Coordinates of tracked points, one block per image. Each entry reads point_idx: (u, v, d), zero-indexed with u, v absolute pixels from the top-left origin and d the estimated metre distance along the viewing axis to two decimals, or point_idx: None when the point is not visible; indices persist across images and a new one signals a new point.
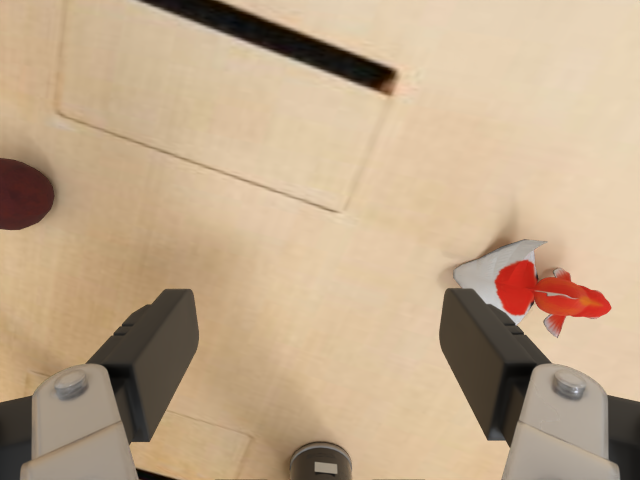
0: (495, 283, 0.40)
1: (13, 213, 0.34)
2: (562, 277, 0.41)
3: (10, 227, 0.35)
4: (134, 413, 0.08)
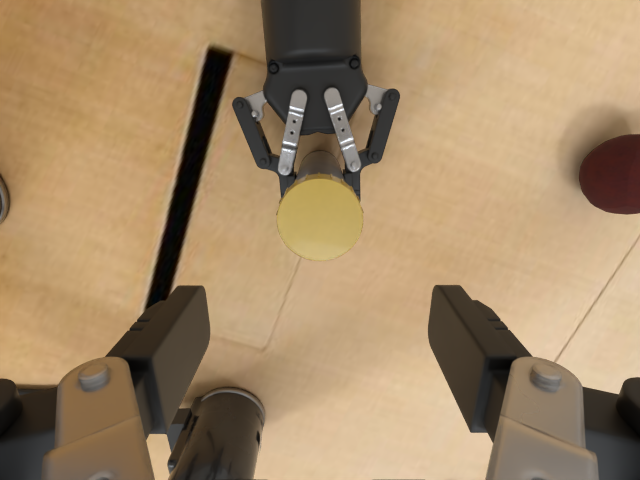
0: None
1: (628, 205, 0.32)
2: None
3: (608, 189, 0.33)
4: (152, 405, 0.08)
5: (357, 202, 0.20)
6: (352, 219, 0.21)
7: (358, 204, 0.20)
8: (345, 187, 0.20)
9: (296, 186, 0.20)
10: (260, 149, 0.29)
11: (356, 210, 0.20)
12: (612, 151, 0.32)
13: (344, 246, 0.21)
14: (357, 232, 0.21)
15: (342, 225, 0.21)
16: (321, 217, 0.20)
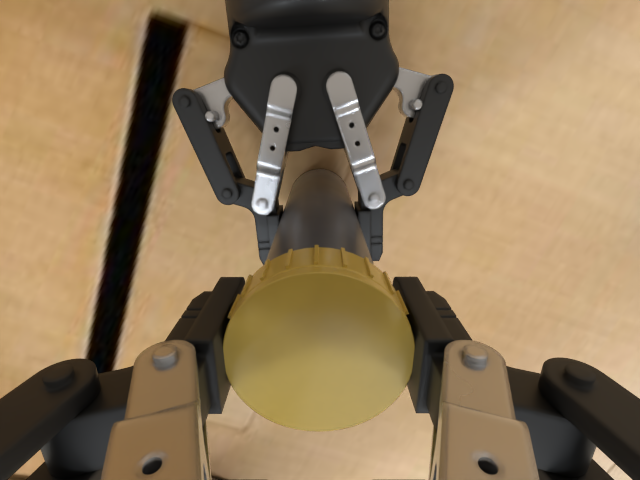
0: None
1: None
2: None
3: None
4: (210, 386, 0.09)
5: (404, 321, 0.09)
6: (392, 355, 0.09)
7: (406, 325, 0.09)
8: (378, 290, 0.09)
9: (263, 288, 0.09)
10: (222, 174, 0.18)
11: (401, 337, 0.09)
12: None
13: (372, 405, 0.10)
14: (401, 380, 0.09)
15: (369, 367, 0.09)
16: (322, 351, 0.09)
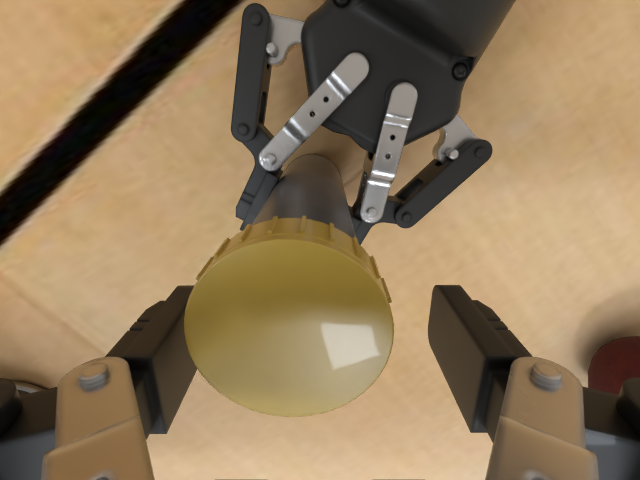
0: None
1: None
2: None
3: None
4: (153, 405, 0.08)
5: (295, 243, 0.08)
6: (328, 274, 0.08)
7: (301, 244, 0.08)
8: (245, 247, 0.08)
9: (187, 335, 0.09)
10: (249, 108, 0.17)
11: (313, 255, 0.08)
12: None
13: (377, 324, 0.08)
14: (365, 283, 0.08)
15: (327, 302, 0.08)
16: (281, 330, 0.08)
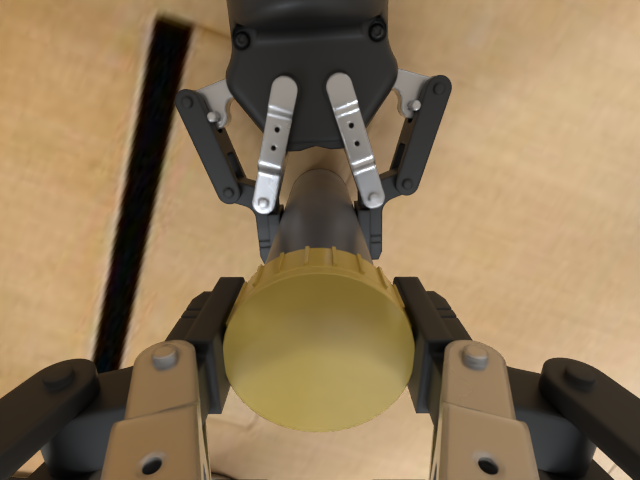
0: None
1: None
2: None
3: None
4: (210, 386, 0.09)
5: (274, 284, 0.08)
6: (315, 294, 0.09)
7: (279, 282, 0.08)
8: (239, 308, 0.09)
9: (241, 396, 0.10)
10: (223, 173, 0.18)
11: (294, 286, 0.08)
12: None
13: (384, 313, 0.09)
14: (350, 285, 0.08)
15: (330, 317, 0.09)
16: (309, 357, 0.09)
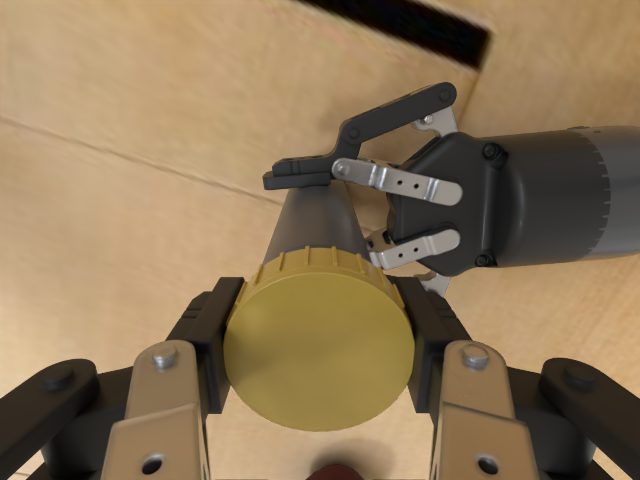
0: None
1: None
2: None
3: None
4: (210, 386, 0.09)
5: (275, 284, 0.08)
6: (316, 294, 0.09)
7: (279, 282, 0.08)
8: (240, 308, 0.09)
9: (241, 396, 0.10)
10: (373, 129, 0.18)
11: (294, 286, 0.08)
12: None
13: (384, 313, 0.09)
14: (350, 285, 0.08)
15: (330, 316, 0.09)
16: (309, 356, 0.09)
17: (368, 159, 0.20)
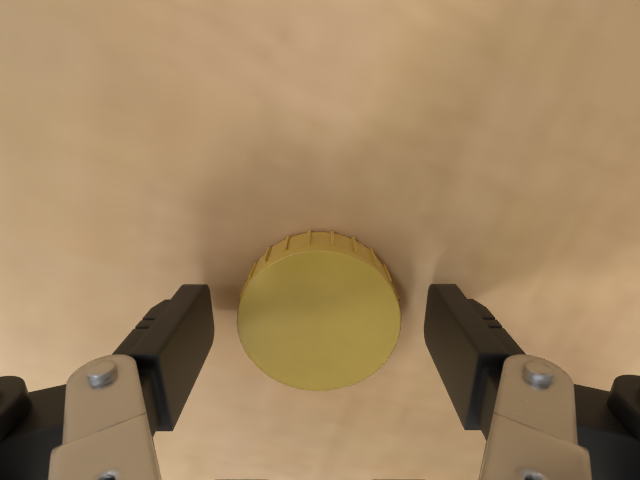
0: None
1: None
2: None
3: None
4: (159, 402, 0.08)
5: (282, 260, 0.10)
6: (316, 269, 0.10)
7: (286, 258, 0.10)
8: (252, 281, 0.10)
9: (252, 358, 0.11)
10: None
11: (298, 262, 0.10)
12: None
13: (374, 285, 0.10)
14: (345, 261, 0.10)
15: (328, 288, 0.10)
16: (310, 323, 0.11)
17: None
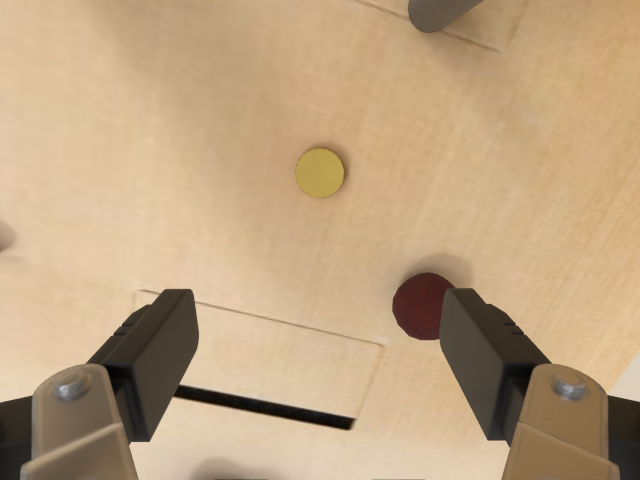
0: None
1: (413, 309, 0.37)
2: None
3: (424, 291, 0.37)
4: (134, 412, 0.08)
5: (309, 152, 0.36)
6: (319, 155, 0.36)
7: (310, 151, 0.36)
8: (300, 159, 0.36)
9: (299, 185, 0.37)
10: None
11: (314, 153, 0.36)
12: (452, 287, 0.38)
13: (335, 160, 0.36)
14: (327, 152, 0.36)
15: (322, 161, 0.36)
16: (317, 173, 0.37)
17: None
